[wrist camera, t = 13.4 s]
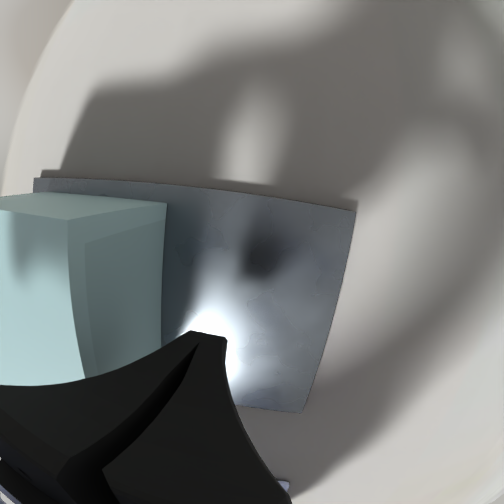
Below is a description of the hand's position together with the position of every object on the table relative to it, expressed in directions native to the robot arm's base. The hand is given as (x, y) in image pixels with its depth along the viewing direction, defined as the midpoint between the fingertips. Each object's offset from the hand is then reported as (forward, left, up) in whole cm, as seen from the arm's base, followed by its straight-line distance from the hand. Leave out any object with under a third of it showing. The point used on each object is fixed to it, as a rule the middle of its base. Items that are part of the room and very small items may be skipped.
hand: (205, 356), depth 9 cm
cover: (+7, 0, -3) cm, 8 cm away
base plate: (+4, 0, -4) cm, 6 cm away
